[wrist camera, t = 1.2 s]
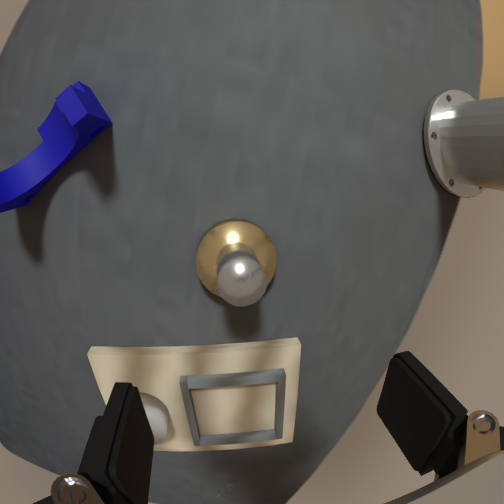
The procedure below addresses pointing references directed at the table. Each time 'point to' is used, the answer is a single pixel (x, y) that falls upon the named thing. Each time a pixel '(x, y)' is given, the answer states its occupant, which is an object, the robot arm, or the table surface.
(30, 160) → the cable clip
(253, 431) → the carrier plate
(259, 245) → the gold and silver knob
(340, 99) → the table surface
